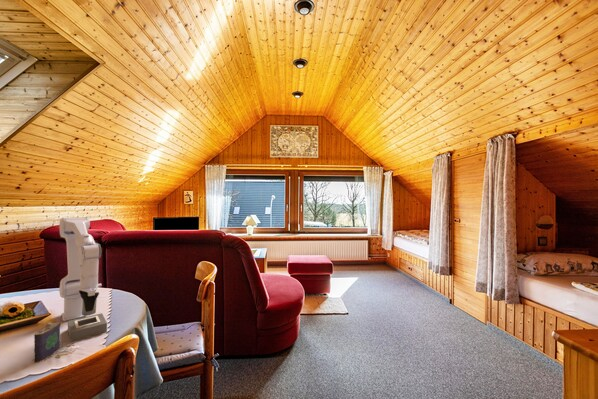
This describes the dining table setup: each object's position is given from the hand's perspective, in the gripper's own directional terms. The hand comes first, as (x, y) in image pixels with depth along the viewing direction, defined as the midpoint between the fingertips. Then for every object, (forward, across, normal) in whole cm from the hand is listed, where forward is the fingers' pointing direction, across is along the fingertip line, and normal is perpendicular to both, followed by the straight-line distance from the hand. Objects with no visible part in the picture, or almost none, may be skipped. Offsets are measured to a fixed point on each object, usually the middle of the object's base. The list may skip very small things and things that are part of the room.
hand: (88, 309), depth 105 cm
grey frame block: (+9, 0, 0) cm, 9 cm away
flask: (+9, -11, +12) cm, 18 cm away
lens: (+2, 0, 0) cm, 2 cm away
